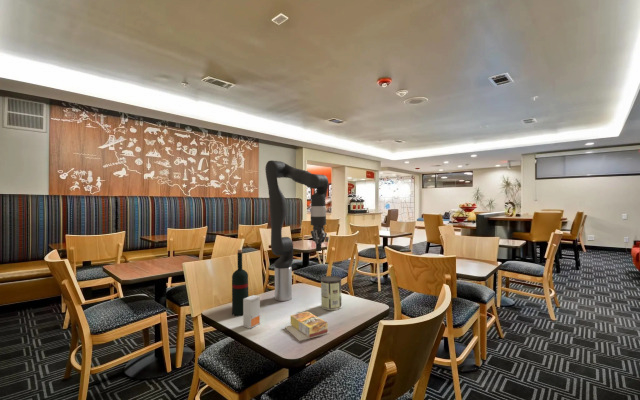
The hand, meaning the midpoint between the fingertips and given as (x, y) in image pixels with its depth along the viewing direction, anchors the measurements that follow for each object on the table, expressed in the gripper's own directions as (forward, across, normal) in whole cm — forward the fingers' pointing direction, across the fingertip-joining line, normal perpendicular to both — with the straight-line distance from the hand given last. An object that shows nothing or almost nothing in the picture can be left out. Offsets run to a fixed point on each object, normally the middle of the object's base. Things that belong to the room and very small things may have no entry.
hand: (318, 250), depth 148 cm
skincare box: (+29, -2, +34) cm, 44 cm away
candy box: (+26, -10, +15) cm, 32 cm away
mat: (+28, -18, +15) cm, 37 cm away
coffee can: (+29, +1, -7) cm, 30 cm away
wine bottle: (+29, +16, +34) cm, 47 cm away
